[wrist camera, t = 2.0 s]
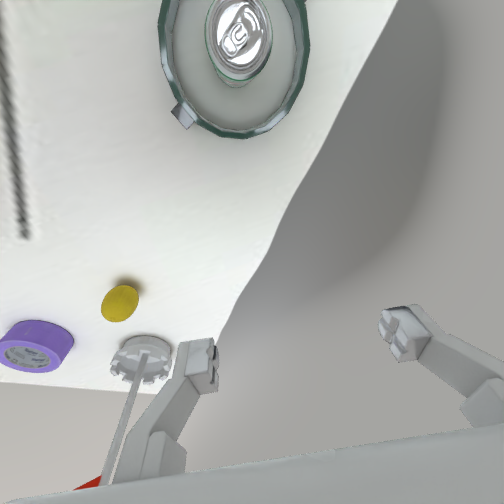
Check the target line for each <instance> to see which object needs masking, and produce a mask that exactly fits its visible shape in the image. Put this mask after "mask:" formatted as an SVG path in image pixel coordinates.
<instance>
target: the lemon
mask: <svg viewBox="0 0 504 504" xmlns="http://www.w3.org/2000/svg"><path fill="white" fill-rule="evenodd" d="M138 301H139V297H138V293H137V291H136V290H135V289H134V288H133V287H131V286H127V285H121V286H117V287H115V288H113V289H111V290H110V291H109V292H108V293H107V294H106V296H105V298H104V300H103V302H102V305H101V313H102V315H103V317H104V318H105V319H107V320H108V321H111V322H121V321H124V320H126V319H127V318H129V317H130V316H131V315H132V314H133V312H134V311H135V309H136V307H137V305H138Z"/></svg>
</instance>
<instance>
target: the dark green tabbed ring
mask: <svg viewBox="0 0 504 504" xmlns="http://www.w3.org/2000/svg"><path fill="white" fill-rule="evenodd" d="M179 1H180V0H162V4H161V9H160V14H159V19H158V35H159V44H160V54H161V64H162V65H163V66H162V67H163V70H164V72H165V75H166V77H167V79H168V82H169V84H170V87H171V89H172V91H173V94H174V96H175V99H177V101H178V104H177V105H176V106H175V107H174V108H173V110H172V111H171V113H172V114H173V115H174V116H175V117H176V118H177V119H178V121H179V122H180V123H181V124H182V125H183V126H184V127H185V128H186V130H187V129H188V128H189V127H190V126H191V125H192V124H193V123H194V122H196V123H197V124H198V125H200V126H201V127H203V128H205V129H207V130H209V131H210V132H212V133H214V134H216V135H218V136H219V137H220V136H221V137H224V138H235V139H248V138H251V137H254V136H256V135H259V134H262V133H265V132H268V130H270V129H272V128H273V127H274V126H275V125H276V124H277V123H278V122H279V121H280V120H281V119H282V118H283V117H285V116H286V115H287V114H288V113H289V111H290V109H291V108H292V106H293V104H294V102H295V100H296V98H297V96H298V94H299V92H300V90H301V88H302V86H303V83H304V80H305V74H306V69H307V63H308V58H309V52H310V48H309V47H310V39H309V30H308V21H307V11H306V7H305V6H306V5H305V2H306V1H307V0H283V2H284V4H285V6H286V8H287V10H288V12H289V14H290V16H291V18H292V21H293V28H294V35H295V43H296V50H297V56H296V62H295V68H294V75H293V81H292V85H291V87H290V89H289V91H288V93H287V95H286V97H285V99H284V101H283V103H282V105H281V107H280V108H279V109H278V110H277V111H276V112H275V113H274V114H273V115H271V116H270V117H269V118H268V119H267V120H266V121H265V122H264V123H263V124H260V125H257V126H254V127H252V128H249V129H246V130H233V129H223V128H221V127H219V126H217V125H216V124H214V123H212V122H210V121H209V120H207V119H205V118H203V117H202V116H201V115H200V114H199V112H198V111H197V110H196V109H195V107H194V106H193V105H192V104H191V103H190V101H189V100H188V99H187V98H186V97H185V94H184V92H183V89H182V87H181V84H180V81H179V79H178V76H177V74H176V71H175V69H174V60H173V48H172V35H171V34H172V30H173V26H174V22H175V18H176V14H177V10H178V6H179Z"/></svg>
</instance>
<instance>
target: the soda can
mask: <svg viewBox="0 0 504 504" xmlns="http://www.w3.org/2000/svg"><path fill="white" fill-rule="evenodd" d="M272 39H273V34H272V25H271V20H270V17H269V14H268V12H267V9H266V7H265V6H264V4H263V3H262V1H261V0H214V1H213V3H212V4H211V6H210V9H209V11H208V14H207V17H206V23H205V42H206V47H207V51H208V54H209V56H210V58H211V61H212V63H213V65H214V67H215V70H216V72H217V74H218V76H219V77H220V79H221V80H222V81H223V82H224V83H225V84H227V85H228V86H231V87H235V88H239V87H243V86H245V85H247V84H248V83H249V82H250V81H251V80H252V79H253V78H254V77H255V76H257V75H258V74H259V73H260V72H261V70H262V69H263V68H264V66H265V65H266V63H267V61H268V58H269V56H270V52H271V48H272Z"/></svg>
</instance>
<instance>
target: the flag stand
mask: <svg viewBox="0 0 504 504" xmlns="http://www.w3.org/2000/svg"><path fill="white" fill-rule="evenodd" d="M110 365H112V367H111V369H110V372H111V373H112V374H113V375H114V376H117V375H119V373H120V374H122V375H124V377H123V379H122V381H125V382H128V383H132V386H131V389H130V392H129V395H128V398H127V401H126V403H125V407H124V409H123V412H122V415H121V418H120V421H119V424H118V427H117V430H116V433H115V435H114V439H113V441H112V444H111V447H110V450H109V453H108V456H107V459H106V462H105V465H104V467H103V470H102V474H101V476H99V477H97V478H95V479H93V480H91V481H90V482H88V483H86V484H84V485H82V486H80V487H78V488H76V489H74V490H79V489H85V488H92V487H98V486H104V485H108V482H109V479H110V476H111V473H112V470H113V467H114V463H115V460H116V457H117V454H118V451H119V448H120V445H121V441H122V438H123V435H124V432H125V428H126V426H127V422H128V419H129V416H130V413H131V410H132V407H133V404H134V400H135V397H136V394H137V391H138V388H139V385H140V382H141V379H144V380H143V384H153V383H154V381H155V378H159V379H160V380H164V379H166V378H167V377H168V374H169V371H170V369H171V365H172V359H171V357H170V347H169V345H168V344H167V343H166V342H165V341H163V340H161V339H159V338H156V337H151V336H137V337H133V338H131V339H129V340H128V341H126V343H125V344H124V346H123V348H122V349H120V350H119V351H117V352H116V354H115V355H114V357H113V360H112V362H111V364H110ZM72 491H73V490H72Z"/></svg>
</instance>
